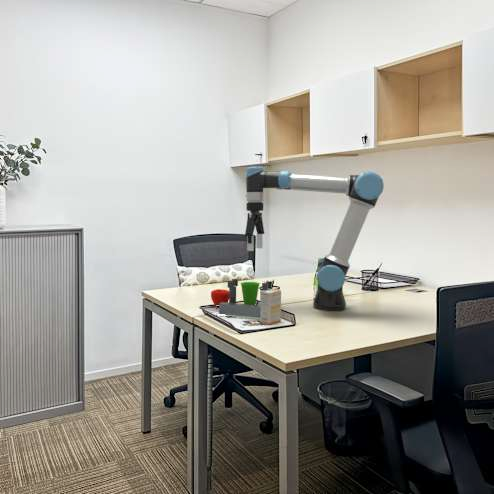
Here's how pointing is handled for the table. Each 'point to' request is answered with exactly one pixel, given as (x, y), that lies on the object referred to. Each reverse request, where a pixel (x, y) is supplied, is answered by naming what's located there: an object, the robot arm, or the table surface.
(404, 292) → the table surface
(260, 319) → the pad
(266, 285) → the standards
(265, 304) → the supplement box
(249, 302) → the cup
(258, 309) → the rail
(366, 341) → the table surface
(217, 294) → the apple
